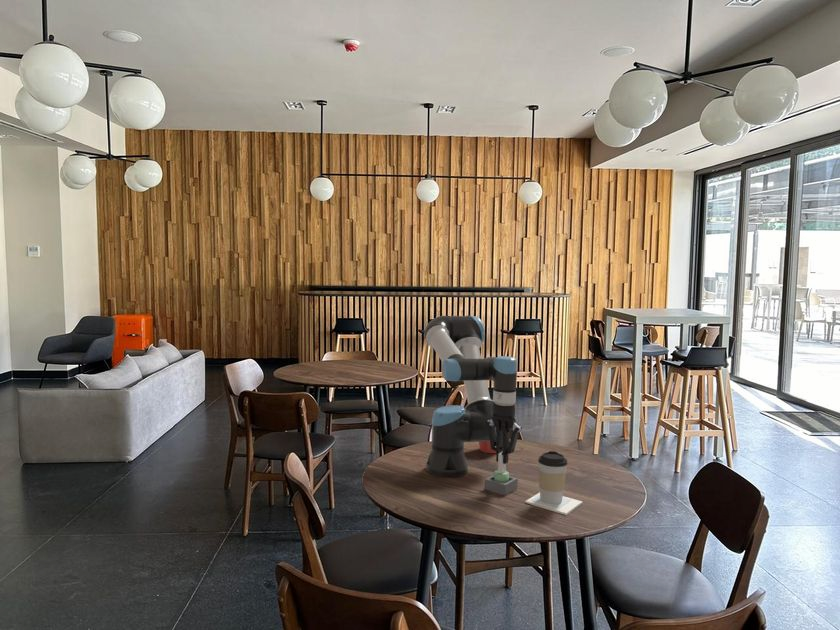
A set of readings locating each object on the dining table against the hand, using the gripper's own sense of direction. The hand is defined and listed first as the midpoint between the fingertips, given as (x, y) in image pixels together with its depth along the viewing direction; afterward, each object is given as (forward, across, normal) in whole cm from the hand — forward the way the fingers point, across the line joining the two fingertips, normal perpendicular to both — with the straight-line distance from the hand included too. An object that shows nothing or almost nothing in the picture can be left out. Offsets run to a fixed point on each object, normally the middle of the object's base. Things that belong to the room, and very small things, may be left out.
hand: (501, 472), depth 202 cm
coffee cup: (+6, +18, +1) cm, 19 cm away
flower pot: (+6, -25, +33) cm, 42 cm away
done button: (+4, 0, 0) cm, 4 cm away
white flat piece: (+6, +19, +1) cm, 20 cm away
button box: (+6, 0, 0) cm, 6 cm away
